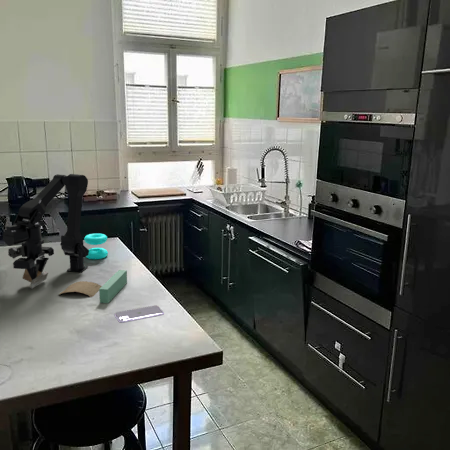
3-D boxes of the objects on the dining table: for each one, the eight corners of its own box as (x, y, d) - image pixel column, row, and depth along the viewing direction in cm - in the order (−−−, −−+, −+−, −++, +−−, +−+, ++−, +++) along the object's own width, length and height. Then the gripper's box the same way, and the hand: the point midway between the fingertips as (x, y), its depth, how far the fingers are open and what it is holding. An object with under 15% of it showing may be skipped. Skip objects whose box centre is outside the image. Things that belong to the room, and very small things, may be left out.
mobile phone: (165, 312, 149) (119, 321, 142) (165, 315, 149) (119, 324, 142) (157, 304, 155) (113, 311, 149) (157, 306, 156) (113, 314, 149)
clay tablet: (104, 288, 171) (103, 281, 171) (95, 299, 161) (94, 291, 161) (66, 287, 172) (66, 280, 171) (55, 297, 162) (54, 290, 162)
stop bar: (119, 282, 176) (119, 269, 175) (127, 282, 176) (126, 270, 175) (99, 302, 157) (99, 288, 156) (108, 303, 157) (107, 289, 155)
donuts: (103, 238, 199) (80, 238, 200) (104, 260, 202) (82, 259, 202) (109, 233, 209) (88, 232, 209) (110, 253, 211) (89, 253, 212)
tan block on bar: (16, 281, 166) (20, 272, 165) (31, 272, 175) (34, 263, 174) (32, 288, 166) (35, 279, 165) (46, 279, 175) (49, 270, 174)
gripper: (25, 231, 176) (29, 269, 180) (-4, 245, 158) (1, 287, 162) (53, 233, 175) (56, 271, 179) (27, 246, 157) (30, 289, 161)
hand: (36, 279), depth 170 cm, fingers closed on tan block on bar, 3 cm apart
